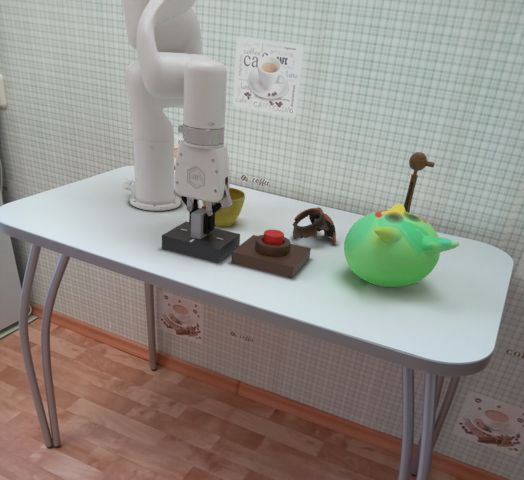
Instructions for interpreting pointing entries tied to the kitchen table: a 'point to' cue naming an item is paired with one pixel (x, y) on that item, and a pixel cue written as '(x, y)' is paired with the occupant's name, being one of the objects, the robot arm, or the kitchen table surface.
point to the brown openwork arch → (314, 224)
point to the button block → (271, 256)
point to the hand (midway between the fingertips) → (201, 230)
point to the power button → (273, 237)
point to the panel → (201, 243)
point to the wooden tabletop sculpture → (415, 175)
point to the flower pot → (230, 209)
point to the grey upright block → (198, 223)
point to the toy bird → (393, 247)
